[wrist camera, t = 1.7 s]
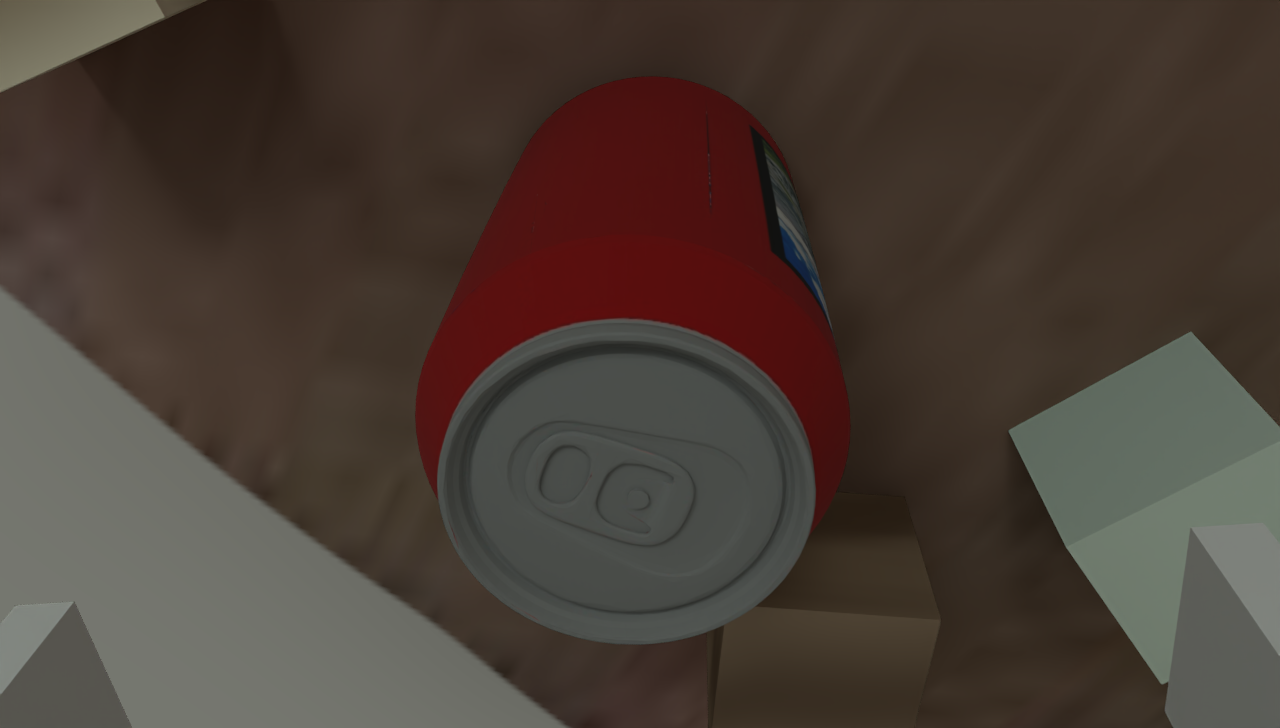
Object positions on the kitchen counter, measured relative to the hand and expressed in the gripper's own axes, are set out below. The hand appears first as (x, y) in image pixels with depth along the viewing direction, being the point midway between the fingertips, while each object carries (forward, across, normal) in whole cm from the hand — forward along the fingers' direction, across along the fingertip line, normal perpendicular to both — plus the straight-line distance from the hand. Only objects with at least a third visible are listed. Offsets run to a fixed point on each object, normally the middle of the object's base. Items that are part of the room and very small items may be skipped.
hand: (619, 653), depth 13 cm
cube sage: (+15, +12, -7) cm, 20 cm away
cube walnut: (+15, +3, -10) cm, 18 cm away
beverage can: (+15, 0, +1) cm, 15 cm away
